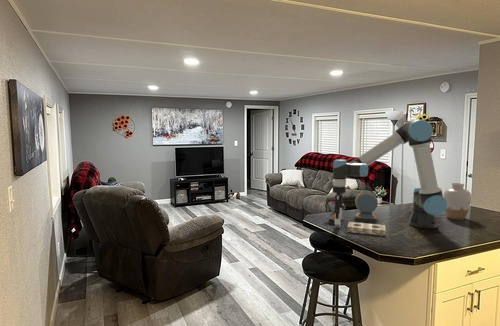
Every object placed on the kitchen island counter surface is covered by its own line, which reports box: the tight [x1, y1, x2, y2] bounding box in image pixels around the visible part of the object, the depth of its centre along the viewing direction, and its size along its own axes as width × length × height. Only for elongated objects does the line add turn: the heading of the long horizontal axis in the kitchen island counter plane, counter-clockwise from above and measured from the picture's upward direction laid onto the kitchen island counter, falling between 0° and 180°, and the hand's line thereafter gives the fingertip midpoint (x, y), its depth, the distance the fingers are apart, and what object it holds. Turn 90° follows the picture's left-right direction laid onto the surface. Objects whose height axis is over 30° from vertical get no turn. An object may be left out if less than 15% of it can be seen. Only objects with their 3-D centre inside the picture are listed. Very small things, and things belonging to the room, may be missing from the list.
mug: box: [328, 201, 346, 222], centre depth 217 cm, size 12×9×11 cm
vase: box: [443, 182, 472, 221], centre depth 222 cm, size 16×16×23 cm
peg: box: [334, 211, 342, 229], centre depth 200 cm, size 3×3×10 cm
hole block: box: [347, 221, 386, 237], centre depth 193 cm, size 20×11×3 cm, turn 70°
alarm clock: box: [354, 189, 379, 220], centre depth 224 cm, size 14×10×18 cm
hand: (338, 221), depth 200 cm, fingers open, 13 cm apart
